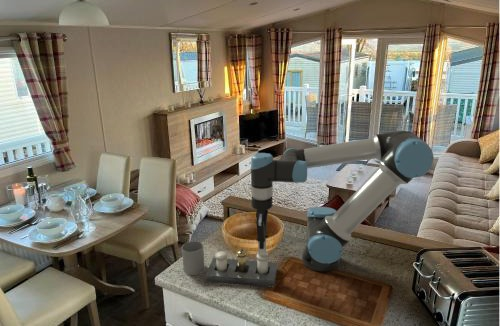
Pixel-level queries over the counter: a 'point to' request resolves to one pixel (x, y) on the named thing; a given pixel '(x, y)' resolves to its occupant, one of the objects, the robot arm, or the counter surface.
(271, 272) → the panel
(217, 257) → the knob
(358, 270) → the counter surface
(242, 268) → the brass slotted knob
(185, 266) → the cup
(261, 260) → the knob
